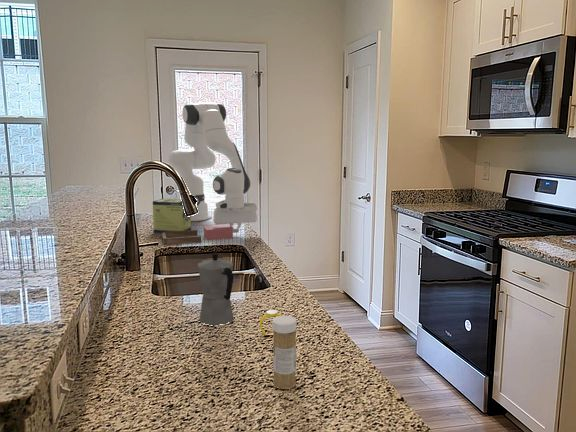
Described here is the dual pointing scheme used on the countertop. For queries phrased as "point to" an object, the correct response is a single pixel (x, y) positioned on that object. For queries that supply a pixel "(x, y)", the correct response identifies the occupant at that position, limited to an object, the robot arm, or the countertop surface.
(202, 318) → the coffeepot
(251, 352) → the countertop surface
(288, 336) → the sprinkles bottle
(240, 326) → the countertop surface
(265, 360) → the countertop surface
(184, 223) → the protein box
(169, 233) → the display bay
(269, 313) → the watch
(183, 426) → the countertop surface
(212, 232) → the carton
